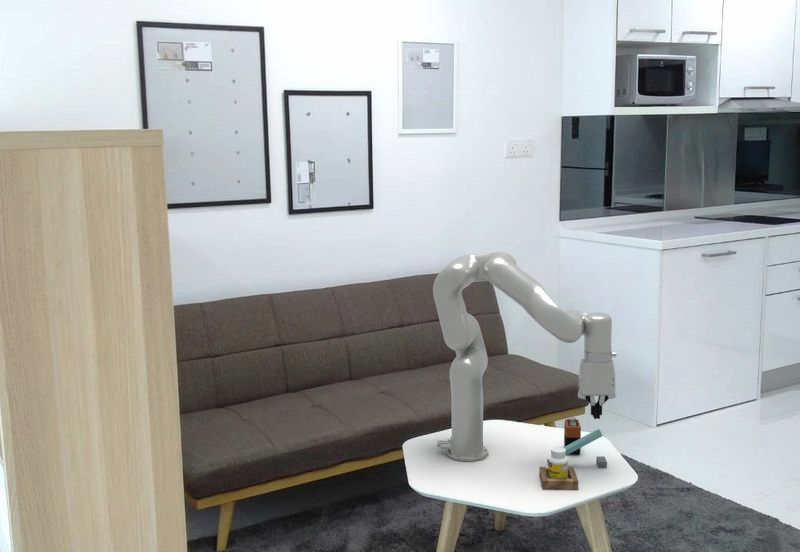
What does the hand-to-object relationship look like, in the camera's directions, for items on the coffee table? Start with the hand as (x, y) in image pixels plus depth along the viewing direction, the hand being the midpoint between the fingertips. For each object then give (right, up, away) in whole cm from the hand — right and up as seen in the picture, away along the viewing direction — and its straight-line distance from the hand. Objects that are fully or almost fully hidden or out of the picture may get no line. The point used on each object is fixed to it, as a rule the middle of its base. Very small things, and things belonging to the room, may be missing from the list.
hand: (596, 417), depth 246 cm
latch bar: (-5, -9, +2) cm, 10 cm away
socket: (-13, -17, -8) cm, 23 cm away
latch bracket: (-5, -15, +3) cm, 16 cm away
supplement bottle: (-13, -17, -8) cm, 23 cm away
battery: (-4, -13, +14) cm, 19 cm away
